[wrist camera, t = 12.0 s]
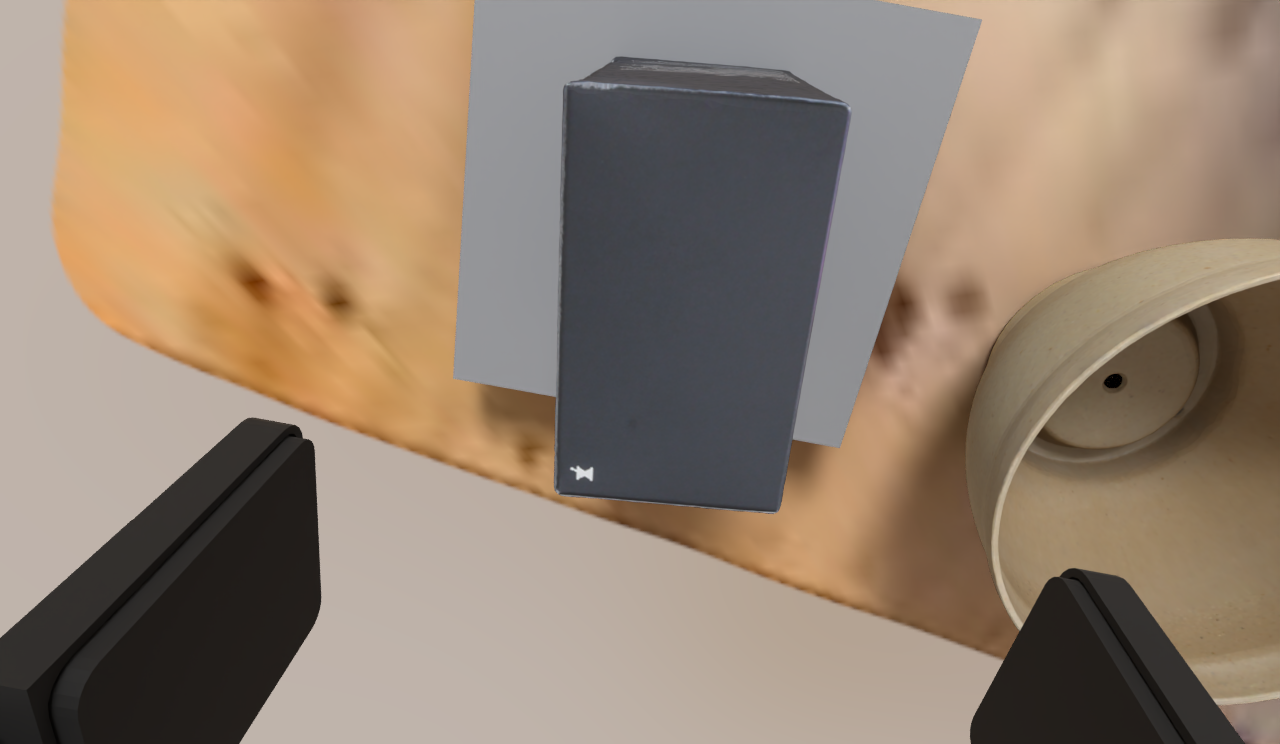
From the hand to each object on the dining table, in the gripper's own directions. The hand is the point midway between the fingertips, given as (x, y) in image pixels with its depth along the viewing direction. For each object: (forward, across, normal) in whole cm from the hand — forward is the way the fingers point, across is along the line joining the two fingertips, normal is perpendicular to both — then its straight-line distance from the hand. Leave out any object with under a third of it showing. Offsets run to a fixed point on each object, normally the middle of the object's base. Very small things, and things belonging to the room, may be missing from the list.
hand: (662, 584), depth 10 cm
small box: (+19, 0, 0) cm, 19 cm away
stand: (+23, 0, 0) cm, 23 cm away
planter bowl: (+23, -19, +4) cm, 30 cm away
